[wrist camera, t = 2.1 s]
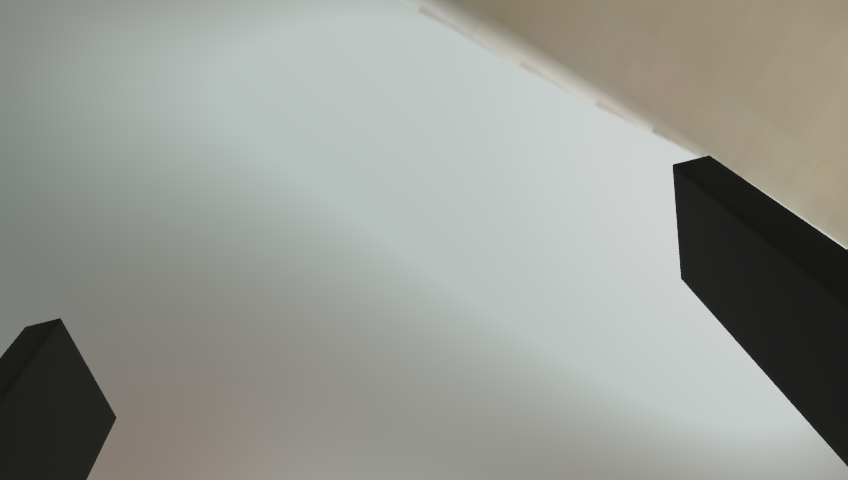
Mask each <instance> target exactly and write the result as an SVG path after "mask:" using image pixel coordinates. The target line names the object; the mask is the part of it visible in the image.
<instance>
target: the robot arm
mask: <svg viewBox="0 0 848 480" xmlns="http://www.w3.org/2000/svg"><path fill="white" fill-rule="evenodd" d="M673 175H674V188H675V201H676V215H677V228H678V242H679V255H680V268H681V279H682V280H683V281H684V282H685V283H686V284H687V285H688V286H689V288H690V289H691V290H692V291H693V292H694V293H695V295H696V296H697V297H698V298H699V299H700V300H701V301H702V302H703V303H704V305H705V306H706V307H707V308H708V309H709V310H710V311H711V312H712V314H713V315H714V316H715V317H716V318H717V319H718V320H719V322H720V323H721V324H722V325H723V326H724V327H725V328H726V329H727V330H728V332H729V333H730V334H731V335H732V336H733V337H734V339H735V340H736V341H737V342H738V343H739V344H740V345H741V346H742V348H743V349H744V350H745V351H746V352H747V353H748V354H749V355H750V356H751V358H752V359H753V360H754V361H755V362H756V363H757V364H758V366H759V367H760V368H761V369H762V370H763V371H764V372H765V373H766V375H767V376H768V377H769V378H770V379H771V380H772V381H773V383H774V384H775V385H776V386H777V387H778V388H779V389H780V390H781V392H782V393H783V394H784V395H785V396H786V397H787V398H788V400H790V402H791V403H792V404H793V405H794V406H795V407H796V409H797V410H798V411H799V412H800V413H801V414H802V415H803V416H804V418H805V419H806V420H807V421H808V422H809V423H810V424H811V425H812V427H813V428H814V429H815V430H816V431H817V432H818V433H819V435H820V436H821V437H822V438H823V439H824V440H825V441H826V442H827V444H828V445H829V446H830V447H831V448H832V449H833V450H834V451H835V453H836V454H837V455H838V456H839V457H840V458H841V459H842V460H843V461H844V463H845V464H846V465H847V466H848V249H847V250H846V249H845V248H843V247H842V246H840V245H839V244H837V243H836V242H834V241H833V240H831V239H830V238H829V237H827V236H826V235H824V234H823V233H821V232H820V231H818V230H817V229H815V228H814V227H813V226H811V225H810V224H808V223H807V222H805V221H804V220H802V219H801V218H799V217H798V216H797V215H795V214H794V213H792V212H791V211H789V210H788V209H786V208H785V207H783V206H782V205H780V204H779V203H778V202H776V201H775V200H773V199H772V198H770V197H769V196H767V195H766V194H764V193H763V192H762V191H760V190H759V189H757V188H756V187H754V186H753V185H751V184H750V183H748V182H747V181H746V180H744V179H743V178H741V177H740V176H738V175H737V174H735V173H734V172H732V171H731V170H730V169H728V168H727V167H725V166H724V165H722V164H721V163H719V162H718V161H716V160H715V159H714V158H712V157H711V156H706V157H702V158H698V159H694V160H690V161H686V162H682V163H678V164H674V165H673ZM115 419H116V416H115V414H114V413H113V411H112V409H111V407H110V406H109V404H108V402H107V400H106V398H105V397H104V395H103V393H102V391H101V389H100V388H99V386H98V384H97V383H96V381H95V379H94V377H93V375H92V373H91V372H90V370H89V368H88V366H87V365H86V363H85V361H84V359H83V358H82V356H81V354H80V352H79V350H78V349H77V347H76V345H75V343H74V342H73V340H72V338H71V336H70V334H69V333H68V331H67V329H66V327H65V326H64V324H63V322H62V320H61V319H56V320H52V321H48V322H44V323H40V324H36V325H32V326H28V327H25V328H24V330H23V331H22V332H21V333H20V335H19V336H18V337H17V338H16V339H15V341H14V342H13V343H12V344H11V346H10V347H9V348H8V349H7V351H6V352H5V353H4V354H3V355H2V357H1V358H0V480H86V479H87V477H88V475H89V473H90V471H91V469H92V467H93V465H94V463H95V461H96V459H97V457H98V455H99V453H100V450H101V448H102V446H103V444H104V442H105V440H106V438H107V436H108V434H109V432H110V430H111V428H112V426H113V423H114V422H115Z"/></svg>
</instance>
